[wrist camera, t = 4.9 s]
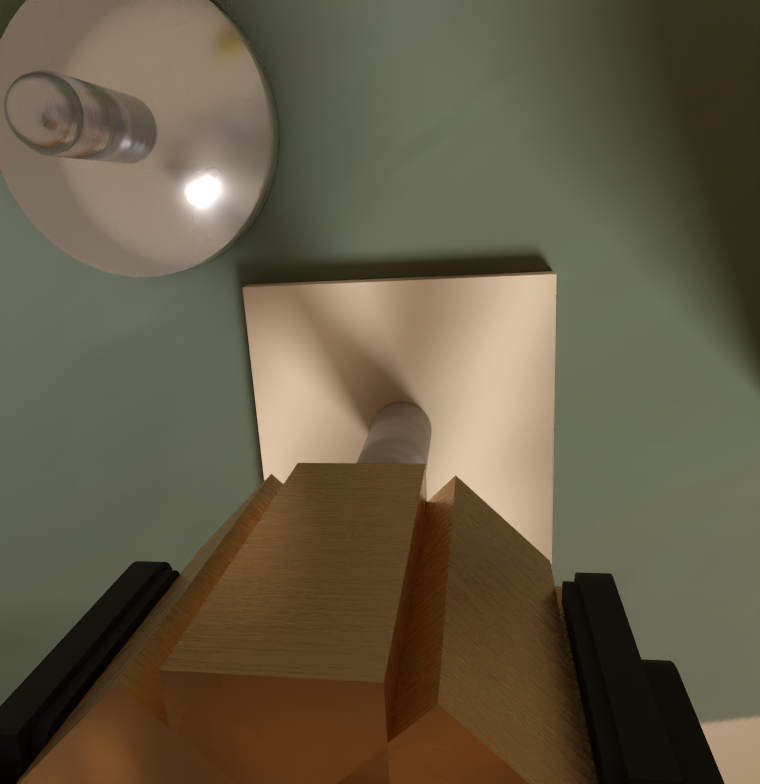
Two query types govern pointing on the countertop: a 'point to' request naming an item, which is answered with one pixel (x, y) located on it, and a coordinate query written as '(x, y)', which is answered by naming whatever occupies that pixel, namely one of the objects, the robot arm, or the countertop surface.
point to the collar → (342, 650)
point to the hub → (135, 130)
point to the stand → (414, 382)
